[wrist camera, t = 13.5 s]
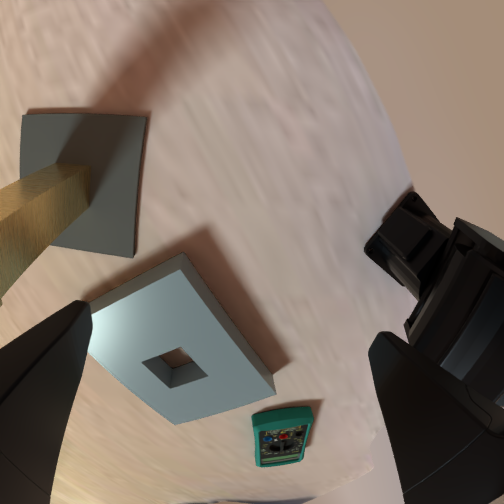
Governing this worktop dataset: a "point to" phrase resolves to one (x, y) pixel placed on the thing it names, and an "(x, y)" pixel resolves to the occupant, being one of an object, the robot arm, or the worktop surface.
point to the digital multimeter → (281, 435)
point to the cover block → (176, 345)
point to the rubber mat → (92, 173)
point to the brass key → (38, 215)
